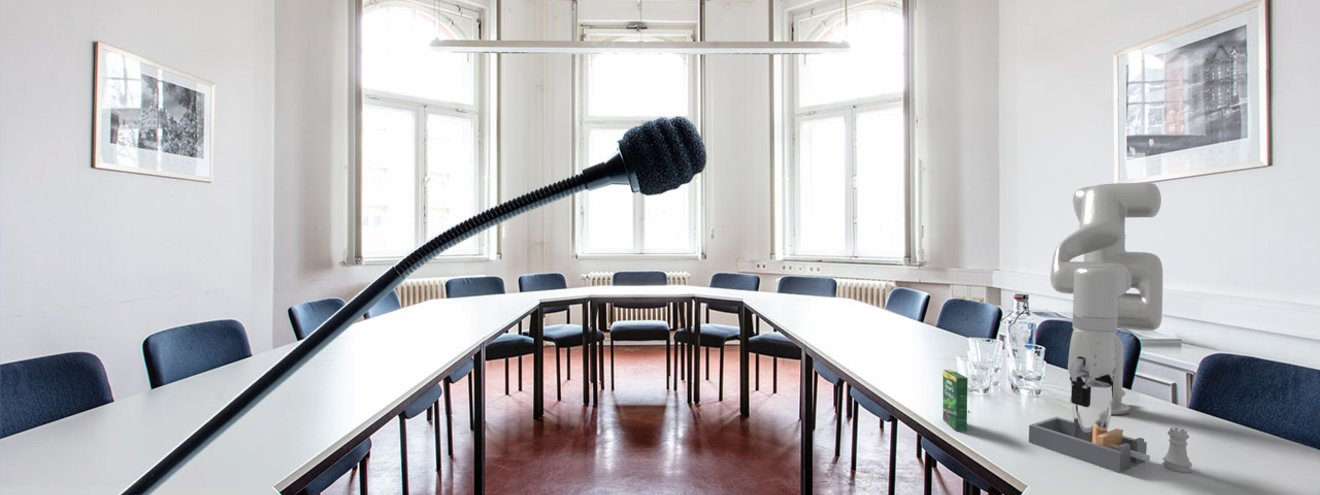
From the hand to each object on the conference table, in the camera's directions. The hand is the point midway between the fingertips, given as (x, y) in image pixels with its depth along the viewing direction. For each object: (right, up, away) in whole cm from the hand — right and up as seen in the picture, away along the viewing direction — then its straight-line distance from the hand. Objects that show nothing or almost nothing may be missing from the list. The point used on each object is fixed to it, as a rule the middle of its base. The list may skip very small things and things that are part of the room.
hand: (1092, 400), depth 117 cm
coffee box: (-21, -11, +16) cm, 29 cm away
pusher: (+3, -11, -6) cm, 13 cm away
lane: (-1, -11, +1) cm, 11 cm away
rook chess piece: (+11, -12, -7) cm, 18 cm away
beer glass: (0, -11, 0) cm, 11 cm away
